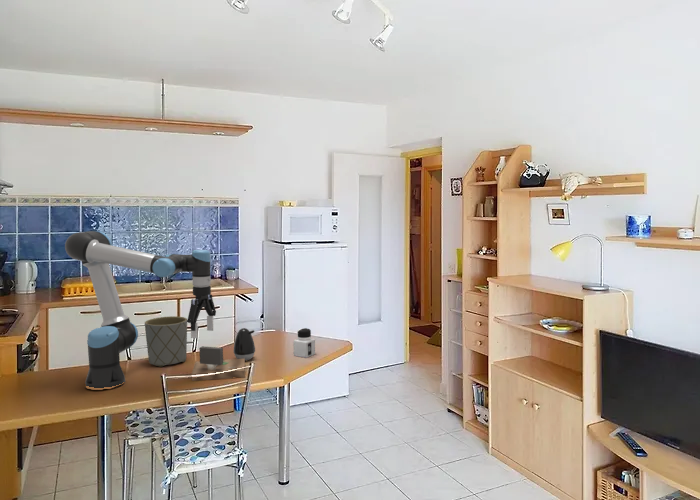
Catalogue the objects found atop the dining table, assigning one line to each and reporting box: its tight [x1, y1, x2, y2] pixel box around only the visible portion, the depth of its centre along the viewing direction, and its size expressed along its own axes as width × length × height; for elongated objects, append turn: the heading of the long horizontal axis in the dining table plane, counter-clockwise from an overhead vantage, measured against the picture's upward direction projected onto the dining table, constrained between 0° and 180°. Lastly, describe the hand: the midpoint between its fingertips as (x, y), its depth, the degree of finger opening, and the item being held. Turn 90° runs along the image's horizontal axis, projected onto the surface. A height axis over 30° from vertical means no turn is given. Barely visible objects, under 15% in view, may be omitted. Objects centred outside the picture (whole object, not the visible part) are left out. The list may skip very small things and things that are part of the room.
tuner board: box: [191, 358, 246, 382], centre depth 237 cm, size 22×18×3 cm
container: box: [293, 327, 316, 359], centre depth 263 cm, size 8×8×13 cm
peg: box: [198, 346, 224, 370], centre depth 236 cm, size 12×10×10 cm
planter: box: [144, 315, 188, 368], centre depth 253 cm, size 19×19×20 cm
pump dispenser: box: [233, 327, 256, 362], centre depth 256 cm, size 10×10×15 cm
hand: (202, 334), depth 232 cm, fingers open, 13 cm apart
